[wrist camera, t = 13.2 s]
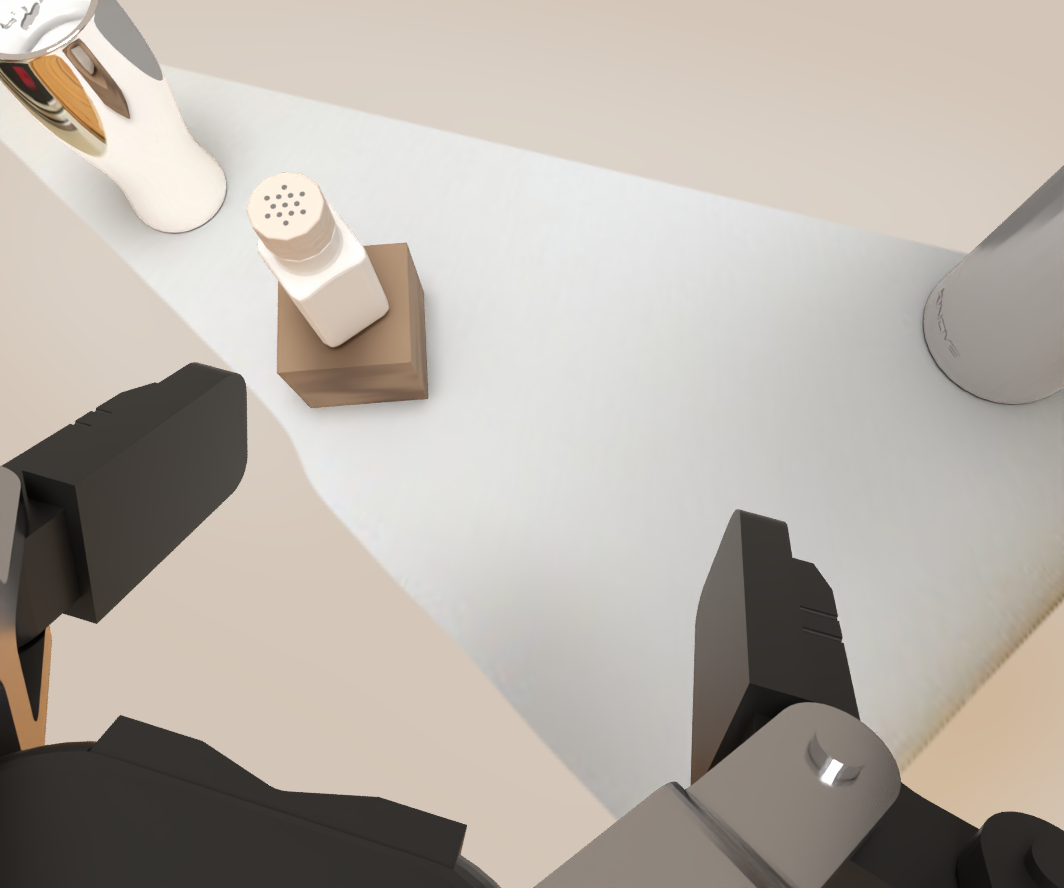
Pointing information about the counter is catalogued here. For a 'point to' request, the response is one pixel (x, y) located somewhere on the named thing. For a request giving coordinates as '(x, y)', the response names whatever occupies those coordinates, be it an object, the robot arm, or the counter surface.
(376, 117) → the counter surface
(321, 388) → the walnut block
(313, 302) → the pepper shaker
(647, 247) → the counter surface
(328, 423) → the counter surface
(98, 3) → the beer glass
